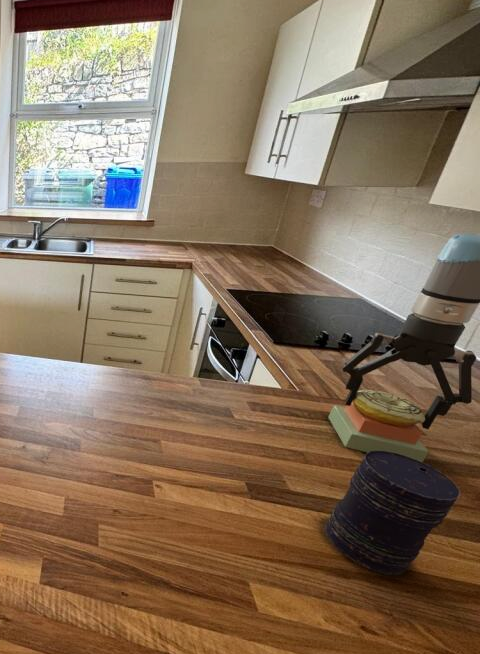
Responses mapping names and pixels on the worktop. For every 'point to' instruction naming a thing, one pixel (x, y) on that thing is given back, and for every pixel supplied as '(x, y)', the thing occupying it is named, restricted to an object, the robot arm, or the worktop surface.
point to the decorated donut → (388, 408)
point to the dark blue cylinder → (390, 511)
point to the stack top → (382, 427)
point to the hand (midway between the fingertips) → (384, 413)
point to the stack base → (371, 438)
